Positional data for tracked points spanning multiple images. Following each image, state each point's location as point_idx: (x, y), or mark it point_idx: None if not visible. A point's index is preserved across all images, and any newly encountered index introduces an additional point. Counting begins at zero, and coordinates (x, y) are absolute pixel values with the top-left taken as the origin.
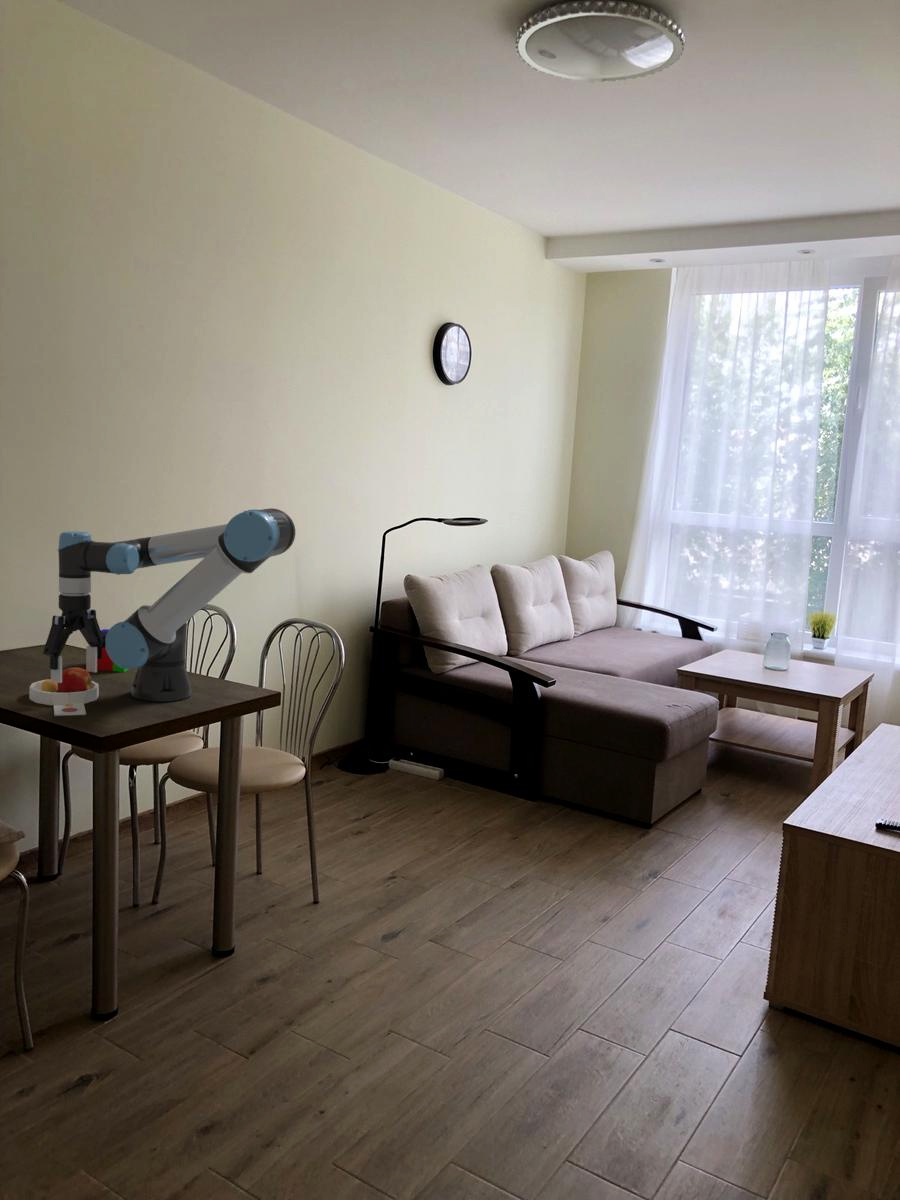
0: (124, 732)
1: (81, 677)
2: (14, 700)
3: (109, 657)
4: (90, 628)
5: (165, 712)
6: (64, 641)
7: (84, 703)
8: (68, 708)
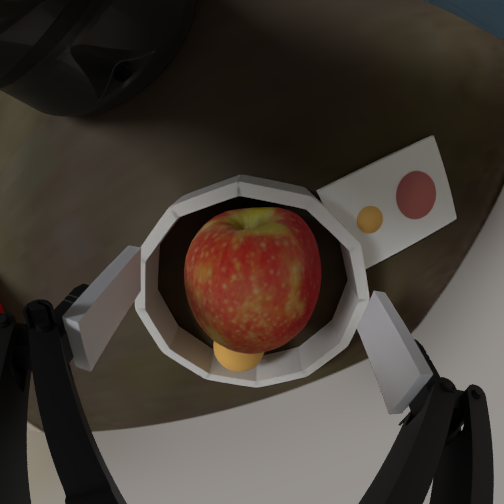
0: None
1: (298, 247)
2: (326, 368)
3: None
4: (19, 444)
5: None
6: (428, 452)
7: (308, 190)
8: (404, 205)
